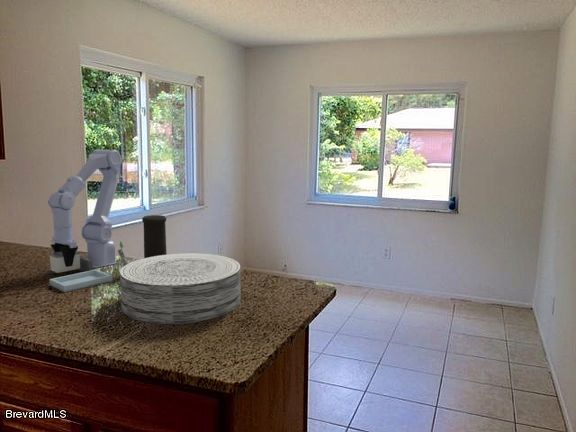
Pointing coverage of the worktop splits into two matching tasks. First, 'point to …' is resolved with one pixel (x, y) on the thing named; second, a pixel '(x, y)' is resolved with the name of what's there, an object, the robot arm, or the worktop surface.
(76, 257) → the block
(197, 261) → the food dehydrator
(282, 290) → the worktop surface
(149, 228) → the container
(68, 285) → the tray
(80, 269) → the bay
